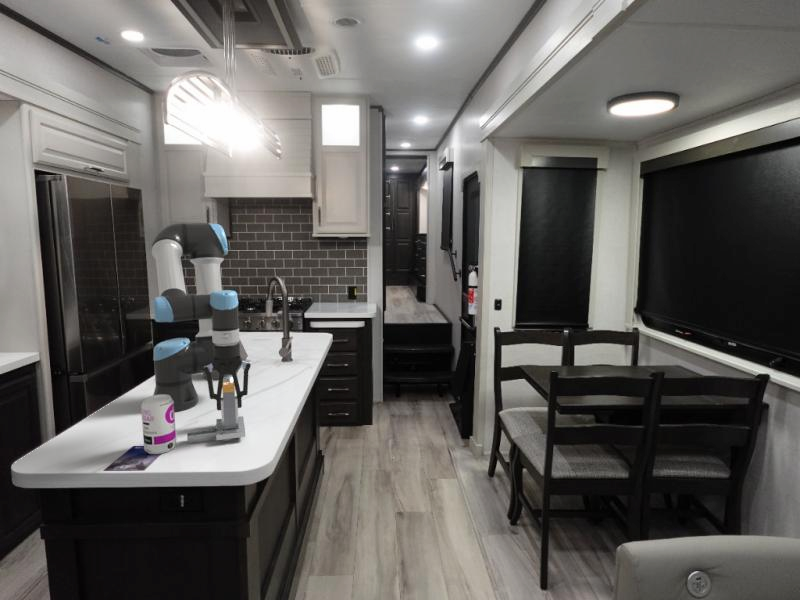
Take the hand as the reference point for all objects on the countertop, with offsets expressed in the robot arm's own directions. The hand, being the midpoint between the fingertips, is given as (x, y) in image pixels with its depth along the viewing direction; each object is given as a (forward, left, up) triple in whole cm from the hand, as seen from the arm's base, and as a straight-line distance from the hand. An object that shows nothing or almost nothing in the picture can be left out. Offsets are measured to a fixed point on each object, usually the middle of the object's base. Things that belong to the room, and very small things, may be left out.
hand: (230, 418), depth 146 cm
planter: (-2, +63, -6) cm, 63 cm away
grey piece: (-4, +4, -6) cm, 8 cm away
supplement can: (-19, -2, -6) cm, 20 cm away
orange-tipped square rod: (0, 0, -3) cm, 3 cm away
